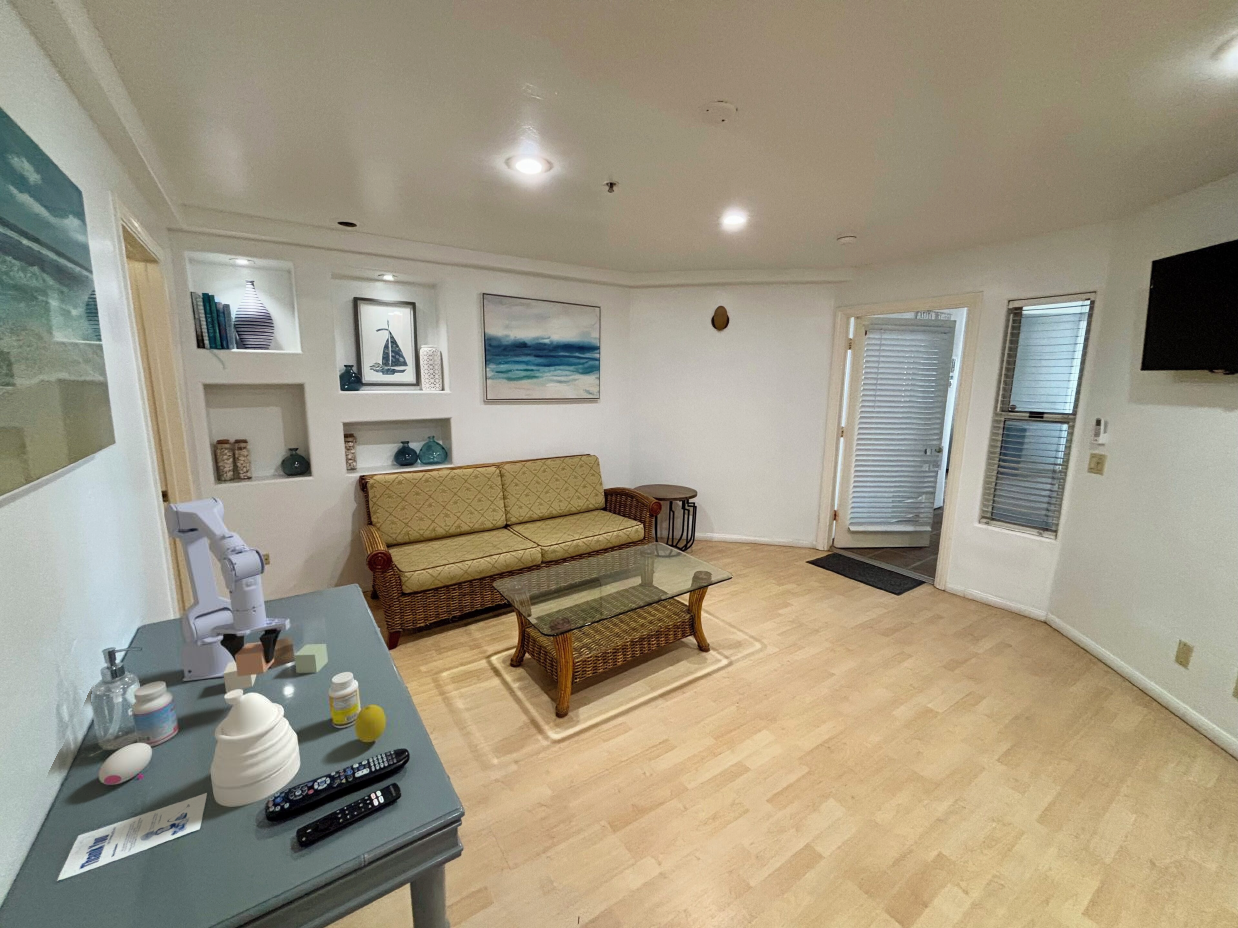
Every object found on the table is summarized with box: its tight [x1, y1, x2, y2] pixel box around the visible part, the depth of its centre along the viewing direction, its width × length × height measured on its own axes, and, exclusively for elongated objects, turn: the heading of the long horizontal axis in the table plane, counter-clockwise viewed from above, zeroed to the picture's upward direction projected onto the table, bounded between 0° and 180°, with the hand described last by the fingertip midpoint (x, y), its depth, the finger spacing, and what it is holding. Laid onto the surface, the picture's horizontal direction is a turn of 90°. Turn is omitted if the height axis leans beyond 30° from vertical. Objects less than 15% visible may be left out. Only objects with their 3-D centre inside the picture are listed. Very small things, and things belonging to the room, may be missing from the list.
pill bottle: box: [131, 680, 179, 748], centre depth 98 cm, size 6×6×11 cm
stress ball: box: [98, 742, 153, 786], centre depth 89 cm, size 8×8×7 cm
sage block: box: [294, 643, 329, 674], centre depth 124 cm, size 5×5×5 cm
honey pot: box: [209, 689, 301, 808], centre depth 88 cm, size 13×13×18 cm
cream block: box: [223, 662, 257, 694], centre depth 117 cm, size 5×5×5 cm
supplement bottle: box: [328, 671, 362, 729], centre depth 103 cm, size 6×6×10 cm
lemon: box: [354, 704, 387, 743], centre depth 97 cm, size 6×6×8 cm
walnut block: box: [270, 636, 295, 669], centre depth 126 cm, size 5×5×5 cm
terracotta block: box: [235, 641, 274, 676], centre depth 108 cm, size 5×5×5 cm
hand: (255, 662), depth 109 cm, fingers closed on terracotta block, 5 cm apart
